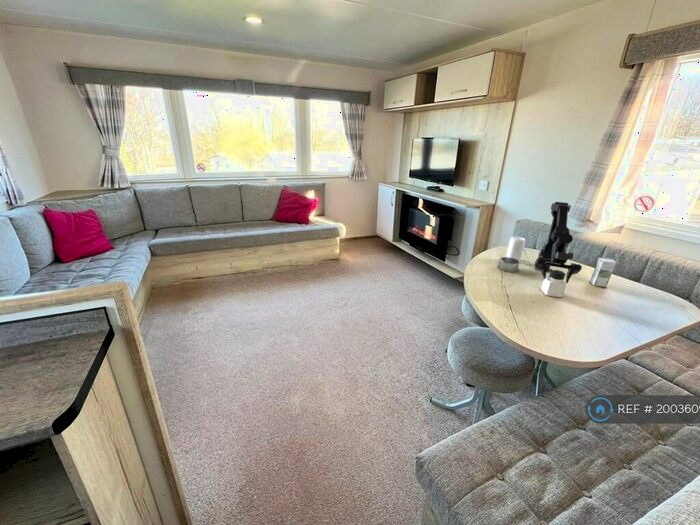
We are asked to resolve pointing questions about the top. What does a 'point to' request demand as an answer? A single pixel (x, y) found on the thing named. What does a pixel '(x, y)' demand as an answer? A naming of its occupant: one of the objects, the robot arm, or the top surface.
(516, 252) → the cup
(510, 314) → the top surface
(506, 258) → the grey bowl
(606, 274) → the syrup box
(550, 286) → the medicine bottle
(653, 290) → the top surface
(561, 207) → the robot arm
